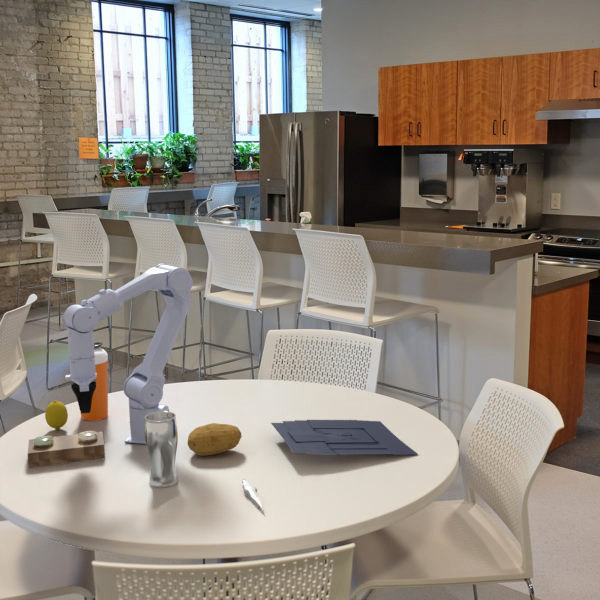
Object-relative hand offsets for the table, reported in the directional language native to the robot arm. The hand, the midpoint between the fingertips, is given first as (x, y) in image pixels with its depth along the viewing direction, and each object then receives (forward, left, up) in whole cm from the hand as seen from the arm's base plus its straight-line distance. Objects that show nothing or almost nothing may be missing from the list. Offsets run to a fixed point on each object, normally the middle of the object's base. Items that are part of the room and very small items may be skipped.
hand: (85, 412), depth 191 cm
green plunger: (+9, +5, -10) cm, 14 cm away
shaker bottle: (+10, -25, -11) cm, 29 cm away
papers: (-58, -16, -11) cm, 61 cm away
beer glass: (-24, +12, -11) cm, 29 cm away
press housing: (+4, +2, -10) cm, 11 cm away
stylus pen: (-45, +17, -11) cm, 49 cm away
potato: (-30, -6, -11) cm, 32 cm away
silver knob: (0, 0, -10) cm, 10 cm away
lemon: (+15, -14, -11) cm, 23 cm away
